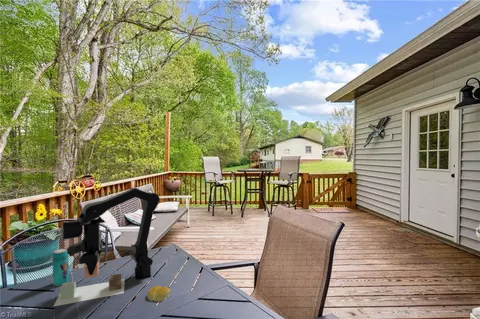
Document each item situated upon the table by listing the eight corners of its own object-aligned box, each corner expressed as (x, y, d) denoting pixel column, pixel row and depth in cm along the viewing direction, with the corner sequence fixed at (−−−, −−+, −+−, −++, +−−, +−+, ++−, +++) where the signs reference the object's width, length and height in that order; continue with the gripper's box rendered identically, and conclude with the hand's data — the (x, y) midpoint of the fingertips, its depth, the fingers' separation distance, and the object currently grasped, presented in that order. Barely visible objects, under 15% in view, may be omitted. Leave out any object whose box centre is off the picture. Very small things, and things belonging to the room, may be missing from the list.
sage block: (75, 292, 106) (75, 281, 106) (73, 297, 102) (73, 286, 102) (63, 294, 104) (62, 283, 104) (60, 299, 100) (60, 288, 100)
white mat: (124, 280, 117) (124, 279, 117) (123, 294, 105) (123, 293, 105) (62, 291, 108) (62, 290, 108) (53, 308, 96) (53, 306, 96)
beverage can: (60, 288, 111) (60, 253, 110) (49, 286, 112) (49, 252, 112) (71, 281, 116) (71, 248, 116) (61, 280, 117) (60, 247, 117)
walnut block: (121, 283, 113) (121, 273, 113) (120, 288, 108) (120, 278, 108) (109, 286, 111) (109, 275, 111) (108, 290, 107) (108, 280, 107)
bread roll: (154, 291, 108) (154, 281, 108) (173, 293, 106) (173, 284, 106) (142, 301, 100) (142, 291, 100) (163, 304, 98) (162, 294, 98)
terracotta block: (98, 271, 109) (98, 260, 109) (97, 275, 105) (97, 264, 105) (86, 273, 108) (86, 262, 107) (84, 277, 103) (84, 266, 103)
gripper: (73, 231, 112) (73, 266, 112) (62, 244, 95) (63, 286, 95) (102, 228, 116) (102, 262, 116) (97, 240, 99) (97, 280, 99)
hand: (92, 272), depth 106 cm, fingers closed on terracotta block, 4 cm apart
